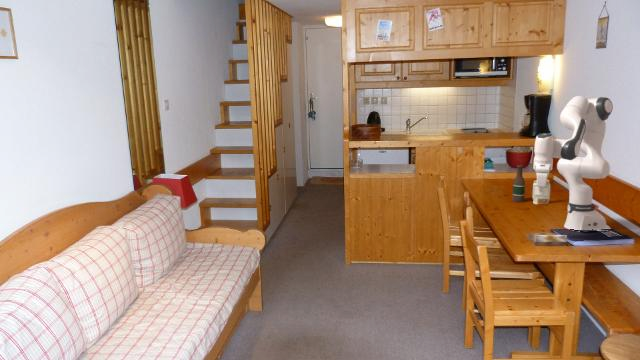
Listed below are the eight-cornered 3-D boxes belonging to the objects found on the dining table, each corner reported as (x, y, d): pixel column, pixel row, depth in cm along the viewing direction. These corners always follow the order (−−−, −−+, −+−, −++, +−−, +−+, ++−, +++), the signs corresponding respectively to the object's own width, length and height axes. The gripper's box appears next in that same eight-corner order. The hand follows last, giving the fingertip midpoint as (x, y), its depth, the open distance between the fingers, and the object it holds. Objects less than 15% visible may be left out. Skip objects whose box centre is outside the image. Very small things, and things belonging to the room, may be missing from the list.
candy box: (537, 204, 332) (538, 181, 329) (532, 203, 336) (533, 180, 333) (548, 203, 335) (549, 180, 332) (544, 202, 339) (545, 179, 336)
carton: (532, 196, 268) (533, 183, 267) (549, 197, 265) (550, 183, 263) (532, 198, 264) (533, 184, 263) (549, 199, 261) (550, 185, 260)
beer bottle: (521, 199, 348) (523, 164, 343) (526, 202, 340) (528, 166, 335) (510, 199, 347) (511, 164, 342) (514, 202, 340) (516, 166, 335)
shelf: (556, 236, 271) (556, 227, 270) (566, 245, 257) (567, 236, 256) (526, 236, 272) (526, 227, 271) (535, 245, 258) (535, 236, 257)
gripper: (536, 162, 272) (535, 187, 275) (535, 169, 254) (533, 196, 256) (549, 162, 269) (548, 188, 272) (549, 169, 251) (547, 197, 254)
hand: (541, 192), depth 264 cm, fingers closed on carton, 4 cm apart
